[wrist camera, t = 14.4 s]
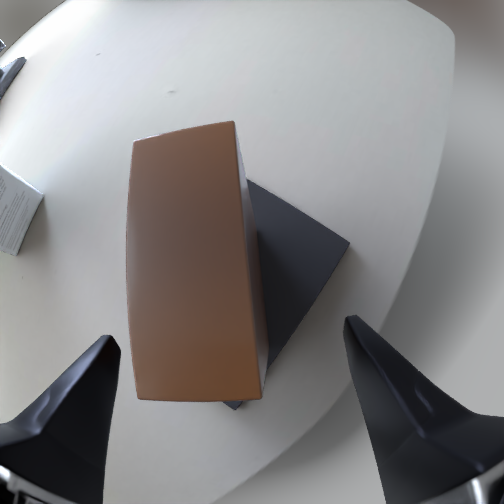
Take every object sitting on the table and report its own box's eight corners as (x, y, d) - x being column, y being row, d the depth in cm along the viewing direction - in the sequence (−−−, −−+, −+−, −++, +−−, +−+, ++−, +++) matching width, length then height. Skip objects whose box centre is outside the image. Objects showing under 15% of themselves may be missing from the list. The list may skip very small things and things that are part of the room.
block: (269, 348, 15) (262, 399, 6) (216, 352, 15) (136, 400, 6) (256, 228, 17) (234, 119, 7) (206, 234, 17) (133, 139, 7)
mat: (348, 244, 17) (350, 242, 16) (236, 408, 15) (235, 410, 15) (241, 177, 18) (240, 175, 18) (133, 329, 16) (130, 330, 16)
